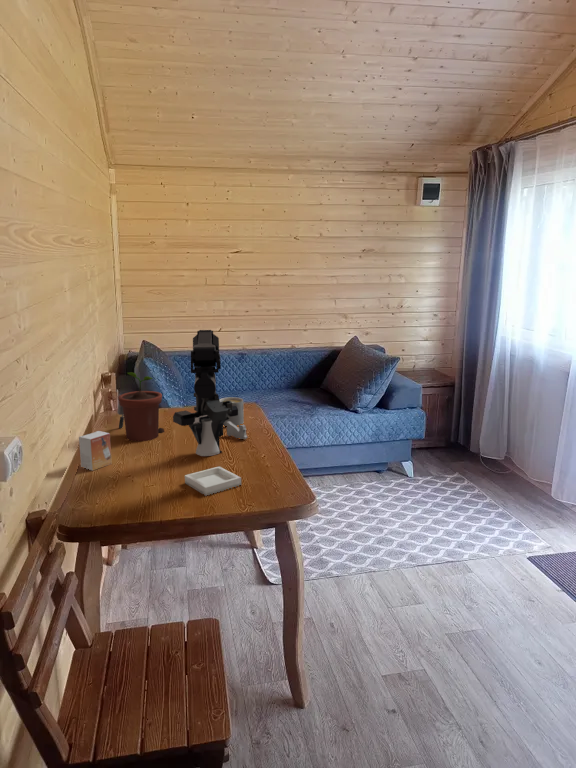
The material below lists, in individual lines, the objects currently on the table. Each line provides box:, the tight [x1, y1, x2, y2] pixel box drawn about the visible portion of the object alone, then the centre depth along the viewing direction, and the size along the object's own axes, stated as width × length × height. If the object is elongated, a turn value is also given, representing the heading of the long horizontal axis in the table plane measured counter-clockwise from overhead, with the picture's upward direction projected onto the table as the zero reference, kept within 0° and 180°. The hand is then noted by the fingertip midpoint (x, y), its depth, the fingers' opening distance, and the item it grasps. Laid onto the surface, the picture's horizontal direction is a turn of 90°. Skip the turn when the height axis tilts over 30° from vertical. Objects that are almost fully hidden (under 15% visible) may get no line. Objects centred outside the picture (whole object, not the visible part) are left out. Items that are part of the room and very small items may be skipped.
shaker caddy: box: [184, 465, 242, 497], centre depth 165 cm, size 12×12×2 cm
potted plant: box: [117, 371, 166, 442], centre depth 211 cm, size 18×22×25 cm
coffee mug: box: [219, 396, 245, 426], centre depth 227 cm, size 13×10×10 cm
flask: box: [195, 419, 221, 457], centre depth 163 cm, size 7×7×10 cm
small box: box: [78, 430, 113, 471], centre depth 180 cm, size 8×6×10 cm
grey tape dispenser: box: [226, 421, 249, 440], centre depth 209 cm, size 6×1×10 cm
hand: (207, 442), depth 163 cm, fingers closed on flask, 5 cm apart
